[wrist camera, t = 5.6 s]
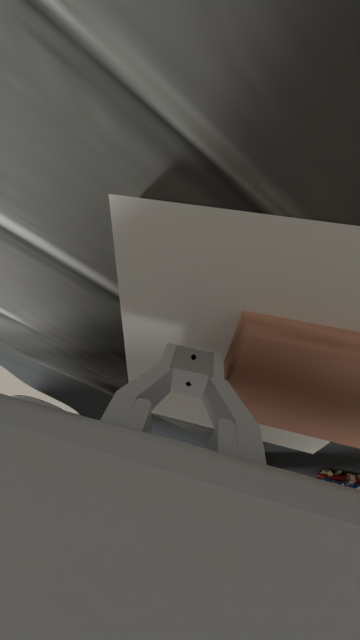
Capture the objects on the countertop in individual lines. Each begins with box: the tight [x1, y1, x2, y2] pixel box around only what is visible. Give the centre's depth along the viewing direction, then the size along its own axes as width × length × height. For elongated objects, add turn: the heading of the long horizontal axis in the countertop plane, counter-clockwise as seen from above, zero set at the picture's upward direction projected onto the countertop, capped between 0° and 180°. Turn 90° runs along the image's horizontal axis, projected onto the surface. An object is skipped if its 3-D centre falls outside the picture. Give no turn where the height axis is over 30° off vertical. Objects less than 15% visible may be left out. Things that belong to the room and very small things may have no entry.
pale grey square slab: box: [108, 194, 360, 454], centre depth 12 cm, size 16×16×3 cm
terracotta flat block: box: [224, 311, 360, 449], centre depth 9 cm, size 6×9×2 cm, turn 84°
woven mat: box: [315, 469, 360, 490], centre depth 22 cm, size 10×11×2 cm
